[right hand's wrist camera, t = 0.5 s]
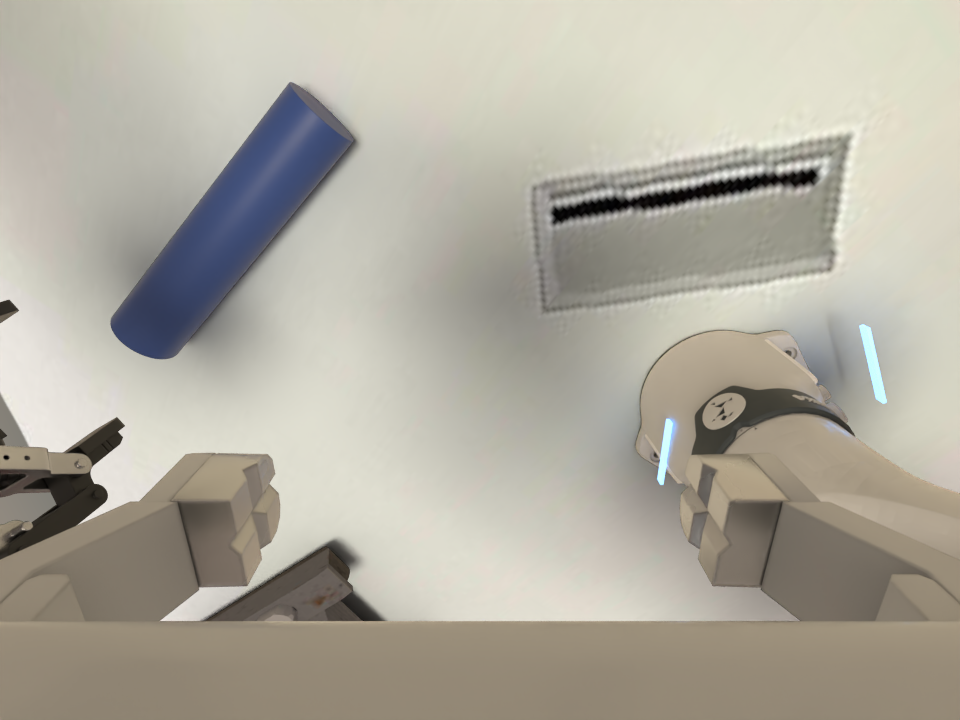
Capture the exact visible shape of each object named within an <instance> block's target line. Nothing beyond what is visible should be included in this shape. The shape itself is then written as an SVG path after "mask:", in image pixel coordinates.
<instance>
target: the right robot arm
mask: <svg viewBox="0 0 960 720" xmlns="http://www.w3.org/2000/svg"><path fill="white" fill-rule="evenodd" d="M860 331H861V335H862V339H863V344H864V348H865V353H866V357H867V361H868V366H869V370H870V374H871V379H872V383H873V387H874V392H875V396H876V399H877V400H878V401H880V402H882V403H883V404H884V403H886V402H887V401H886V397H885V392H884V388H883V383H882V378H881V374H880V369H879V365H878V360H877V356H876V351H875V347H874V342H873V338H872V333H871V329H870V327H867V326H865V325H860ZM787 350H788V352H787V354H786V353H785V351H787ZM817 382H818V380H817V378H816V377H815V376H814V375H813V374H812V373H811V372H810V370H809V368H808V366H807V364H806V362H805V360H804V358H803V356H802V354H801V352H800V350H799V348H798V345H797V343H796V341H795V339H794V338H793V337H792V336H791V335H790V334H789V333H787V332H785V331H771V332H766V333H761V334H746V333H741V332H736V331H712V332H706V333H702V334H699V335H696V336H693V337H691V338H688V339H686V340H684V341H682V342H680V343H679V344H677V345H676V346H674V347H673V348H671V349H670V350H669V351H668V352H666V353H665V354H664V355H663V356H662V357H661V358H660V359H659V360H658V362H657V363H656V364H655V365H654V367H653V368H652V370H651V371H650V373H649V375H648V376H647V379H646V381H645V383H644V386H643V389H642V394H641V401H640V409H641V418H642V426H641V429H640V431H639V434H638V437H637V440H636V450H637V452H638V453H639V455H640V456H641V457H642V458H644V459H645V460H647V461H649V462H650V463H652V464H654V465H655V466H657V467H659V471H658V478H657V480H658V481H659V483H660V485H663V484H664V477H665V472H667V473H668V474H670V475H671V476H672V477H673V479H674V480H675V481H676V482H677V483H678V484H682V483H684V484H685V485H686V486H688V487H687V488H686V489H685V490H684V491H683V492H682V493H681V501H680V518H681V524H682V528H683V531H684V534H685V536H686V537H687V539H688V541H689V542H690V543H691V544H693V545H694V546H696V547H697V548H699V549H700V551H699V556H698V560H699V562H700V564H701V565H702V567H703V569H704V571H705V573H706V575H707V576H708V578H709V580H710V582H711V584H712V585H713V586H729V587H761V590H762V591H763V592H764V593H766V594H767V595H768V596H770V597H771V598H772V599H773V600H775V601H776V602H777V603H778V604H780V605H781V606H782V607H784V608H785V609H786V610H787V611H789V612H790V613H791V614H792V615H794V616H795V617H796V618H798V619H799V620H800V621H160V620H161V619H163V618H164V617H165V616H166V615H168V614H169V613H170V612H172V611H173V610H174V609H175V608H177V607H178V606H179V605H180V604H182V603H183V602H184V601H186V600H187V599H188V598H189V597H191V596H192V595H193V594H194V593H196V592H197V591H198V590H199V587H230V586H248V584H249V582H250V580H251V578H252V576H253V575H254V573H255V571H256V569H257V567H258V565H259V564H260V562H261V560H262V556H261V551H260V549H261V548H263V547H264V546H266V545H267V544H269V543H270V542H271V541H272V539H273V537H274V535H275V533H276V531H277V528H278V523H279V519H280V500H279V493H278V492H277V491H276V490H275V489H274V488H273V487H272V486H271V485H270V484H269V483H270V481H271V480H272V478H273V477H274V475H275V470H274V465H273V460H272V458H271V457H270V456H269V455H268V454H234V453H217V454H216V453H191V454H186V455H185V456H184V457H183V458H182V459H181V460H180V461H179V462H178V463H177V464H176V465H175V466H174V467H173V468H172V469H171V470H170V471H169V472H168V473H167V474H166V475H165V476H164V477H163V478H162V479H161V480H160V481H159V482H158V483H157V484H156V485H155V486H154V487H153V488H152V489H151V490H150V491H149V492H148V493H147V494H146V495H145V496H144V497H143V498H142V499H141V500H140V501H139V502H128V503H126V504H124V505H122V506H119V507H117V508H115V509H113V510H110V511H108V512H106V513H104V514H102V515H99V516H97V517H95V518H93V519H90V520H88V521H86V522H84V523H81V524H79V525H77V526H75V527H72V528H70V529H68V530H66V531H63V532H61V533H59V534H57V535H54V536H52V537H50V538H48V539H45V540H43V541H41V542H39V543H37V544H34V545H32V546H30V547H28V548H25V549H23V550H21V551H19V552H16V553H14V554H12V555H10V556H7V557H5V558H3V559H1V560H0V720H960V493H957V492H954V491H951V490H948V489H945V488H942V487H939V486H936V485H934V484H931V483H929V482H926V481H924V480H921V479H919V478H917V477H915V476H913V475H912V474H910V473H908V472H906V471H905V470H903V469H902V468H900V467H898V466H897V465H895V464H894V463H892V462H891V461H889V460H887V459H886V458H884V457H883V456H881V455H880V454H878V453H877V452H875V451H874V450H872V449H871V448H870V447H868V446H867V445H865V444H864V443H862V442H861V441H860V440H858V439H857V438H856V437H855V435H854V433H853V432H852V430H851V429H850V427H849V426H848V425H847V424H846V423H847V422H848V419H847V417H846V415H845V414H844V413H843V411H842V410H841V409H840V408H839V407H838V406H837V405H836V404H835V403H833V402H831V403H828V404H825V402H824V401H826V400H828V399H829V398H831V395H830V393H829V392H828V390H827V389H826V388H825V387H824V386H822V385H819V386H817V385H816V384H817ZM655 452H656V454H654V453H655Z"/></svg>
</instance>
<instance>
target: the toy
mask: <svg viewBox="0 0 960 720" xmlns="http://www.w3.org/2000/svg"><path fill="white" fill-rule="evenodd" d="M349 574H350V569H349V567H348V566H347V565H346V564H344V563H343V562H342V561H341V560H340V559H339V558H338V557H337V556H336V555H335V554H334V553H333V552H332V551H331V550H330V549H329V548H328V547H324V548H322V549H320V550H318V551H317V552H315V553H314V554H312V555H310V556H309V557H307V558H306V559H304V560H302V561H301V562H299V563H298V564H296V565H294V566H293V567H291V568H290V569H288V570H286V571H285V572H283V573H281V574H280V575H278V576H277V577H275V578H273V579H272V580H270V581H269V582H267V583H265V584H264V585H262V586H261V587H259V588H257V589H256V590H254V591H253V592H251V593H249V594H248V595H246V596H245V597H243V598H241V599H240V600H238V601H237V602H235V603H233V604H232V605H230V606H228V607H227V608H225V609H224V610H222V611H220V612H219V613H217V614H216V615H214V616H212V617H211V618H209V619H208V620H206V621H362V620H361V619H360V618H359V617H358V616H357V615H356V614H355V613H353V612H352V611H351V610H350V609H349V608H348V607H347V606H346V605H345V604H344V603H343V602H342V601H340V600H342V599H343V598H345V597H346V596H347V595H348V594H350V593H351V592H352V591H353V586H352V585H351V584H350V583H349V582H348V581H347V580H348V578H349Z"/></svg>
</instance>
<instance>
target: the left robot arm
mask: <svg viewBox="0 0 960 720" xmlns="http://www.w3.org/2000/svg"><path fill="white" fill-rule="evenodd" d="M18 311H19V310H18V309H17V308H16V306H15V305H14V304H13V303H12V302H11V301H10V300H6V301H3V302H0V323H1V322H3V321H4V320H6V319H7V318H9V317H10V316H12V315H13V314H15V313H17V312H18ZM124 426H125V425H124V424H123V423H122V422H121V421H120V420H119V419H118V418H115V419H113V420H111V421H110V422H108V423H106V424H104V425H103V426H101V427H99V428H98V429H96V430H94V431H93V432H91V433H90V434H89V435H87V436H86V437H84V438H83V439H82V440H80V441H79V442H77V443H76V444H75V445H73V446H72V447H70V448H69V449H68V450H66V451H65V452H63V453H55V452H48V449H47V448H42V447H19V446H5V443H4V441H3V438H4V437H6V436H7V435H6V434H5V433H4V432H3V431H2V430H1V429H0V497H5V496H9V495H12V494H17V493H40V492H51V494H52V496H53V498H54V500H55V502H56V504H57V505H55V506H54V507H52V508H51V509H50V510H48V511H47V512H46V513H44V514H43V515H41V516H40V517H39V518H37V519H36V520H35V521H33V522H32V523H31V522H29V521H25V522H23V521H20V520H12V521H10V522H8V523H5V524H0V560H1V559H3V558H5V557H7V556H10V555H12V554H14V553H16V552H19V551H21V550H23V549H25V548H28V547H30V546H32V545H34V544H37V543H39V542H41V541H43V540H45V539H48V538H50V537H52V536H54V535H57V534H59V533H61V532H63V531H66V530H68V529H70V528H72V527H75V526H76V525H78V524H79V523H80V522H81V521H83V520H84V519H85V518H86V517H88V516H89V515H90V514H91V513H92V512H94V511H95V510H96V509H97V508H99V507H100V506H101V505H102V504H104V503H105V502H106V500H107V498H108V494H107V491H106V489H105V488H104V487H103V486H101V485H99V484H94V483H93V481H92V478H91V475H90V471H91V468H92V467H93V465H95V464H96V463H97V462H98V461H100V460H101V459H102V458H103V457H105V456H106V455H107V454H108V453H109V452H111V451H112V450H113V449H114V448H116V447H117V446H118V445H119V444H120V443H121V441H122V438H123V437H122V436H121V435H120V434H119V433H118V431H119V430H120V429H122V428H123V427H124Z"/></svg>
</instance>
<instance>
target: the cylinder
mask: <svg viewBox="0 0 960 720" xmlns="http://www.w3.org/2000/svg"><path fill="white" fill-rule="evenodd" d="M352 142H353V138H352V136H351V135H350V133H349V132H348V131H347V129H346V128H345V127H344V126H343V125H342V124H341V123H340V122H339V120H338V119H337V118H336V117H335V116H334V115H333V114H332V113H331V112H330V111H328V110H327V109H326V108H325V107H324V106H323V105H322V104H321V103H320V102H319V101H317V100H316V99H315V98H314V97H313V96H311V95H310V94H309V93H308V92H306V91H305V90H304V89H302V88H301V87H300V86H298V85H296V84H294V83H292V82H290V83H289V84H288V85H287V86H286V88H285V89H284V90H283V92H282V93H281V94H280V96H279V97H278V98H277V100H276V101H275V102H274V104H273V105H272V106H271V108H270V109H269V110H268V112H267V113H266V114H265V115H264V117H263V118H262V119H261V121H260V122H259V123H258V125H257V126H256V127H255V129H254V130H253V131H252V133H251V134H250V135H249V137H248V138H247V139H246V141H245V142H244V143H243V145H242V146H241V147H240V149H239V150H238V151H237V152H236V154H235V155H234V156H233V158H232V159H231V160H230V162H229V163H228V164H227V166H226V167H225V168H224V170H223V171H222V172H221V174H220V175H219V176H218V178H217V179H216V180H215V182H214V183H213V184H212V185H211V187H210V188H209V189H208V191H207V192H206V193H205V195H204V196H203V197H202V199H201V200H200V201H199V203H198V204H197V205H196V207H195V208H194V209H193V211H192V212H191V213H190V215H189V216H188V217H187V219H186V220H185V221H184V222H183V224H182V225H181V226H180V228H179V229H178V230H177V232H176V233H175V234H174V236H173V237H172V238H171V240H170V241H169V242H168V244H167V245H166V246H165V248H164V249H163V250H162V252H161V253H160V254H159V256H158V257H157V258H156V259H155V261H154V262H153V263H152V265H151V266H150V267H149V269H148V270H147V271H146V273H145V274H144V275H143V277H142V278H141V279H140V281H139V282H138V283H137V285H136V286H135V287H134V289H133V290H132V291H131V293H130V294H129V295H128V296H127V298H126V299H125V300H124V302H123V303H122V304H121V306H120V307H119V308H118V310H117V311H116V312H115V314H114V315H113V316H112V318H111V328H112V331H113V332H114V334H115V335H116V337H117V338H118V339H119V340H120V341H121V342H122V343H123V344H124V345H126V346H127V347H128V348H130V349H131V350H133V351H135V352H137V353H139V354H141V355H144V356H147V357H150V358H155V359H169V358H172V357H174V356H176V355H177V354H178V353H179V351H180V350H181V349H182V348H183V347H184V345H185V344H186V343H187V342H188V341H189V339H190V338H191V337H192V336H193V335H194V333H195V332H196V331H197V330H198V328H199V327H200V326H201V325H202V324H203V322H204V321H205V320H206V319H207V318H208V316H209V315H210V314H211V313H212V312H213V310H214V309H215V308H216V307H217V306H218V304H219V303H220V302H221V301H222V299H223V298H224V297H225V296H226V295H227V293H228V292H229V291H230V290H231V289H232V287H233V286H234V285H235V284H236V283H237V281H238V280H239V279H240V278H241V277H242V275H243V274H244V273H245V272H246V271H247V269H248V268H249V267H250V266H251V264H252V263H253V262H254V261H255V260H256V258H257V257H258V256H259V255H260V254H261V252H262V251H263V250H264V249H265V248H266V246H267V245H268V244H269V243H270V242H271V240H272V239H273V238H274V237H275V235H276V234H277V233H278V232H279V231H280V229H281V228H282V227H283V226H284V225H285V223H286V222H287V221H288V220H289V219H290V217H291V216H292V215H293V214H294V213H295V211H296V210H297V209H298V208H299V207H300V205H301V204H302V203H303V202H304V200H305V199H306V198H307V197H308V196H309V194H310V193H311V192H312V191H313V190H314V188H315V187H316V186H317V185H318V184H319V182H320V181H321V180H322V179H323V178H324V176H325V175H326V174H327V173H328V171H329V170H330V169H331V168H332V167H333V165H334V164H335V163H336V162H337V161H338V159H339V158H340V157H341V156H342V155H343V153H344V152H345V151H346V150H347V149H348V147H349V146H350V145H351V144H352Z"/></svg>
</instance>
